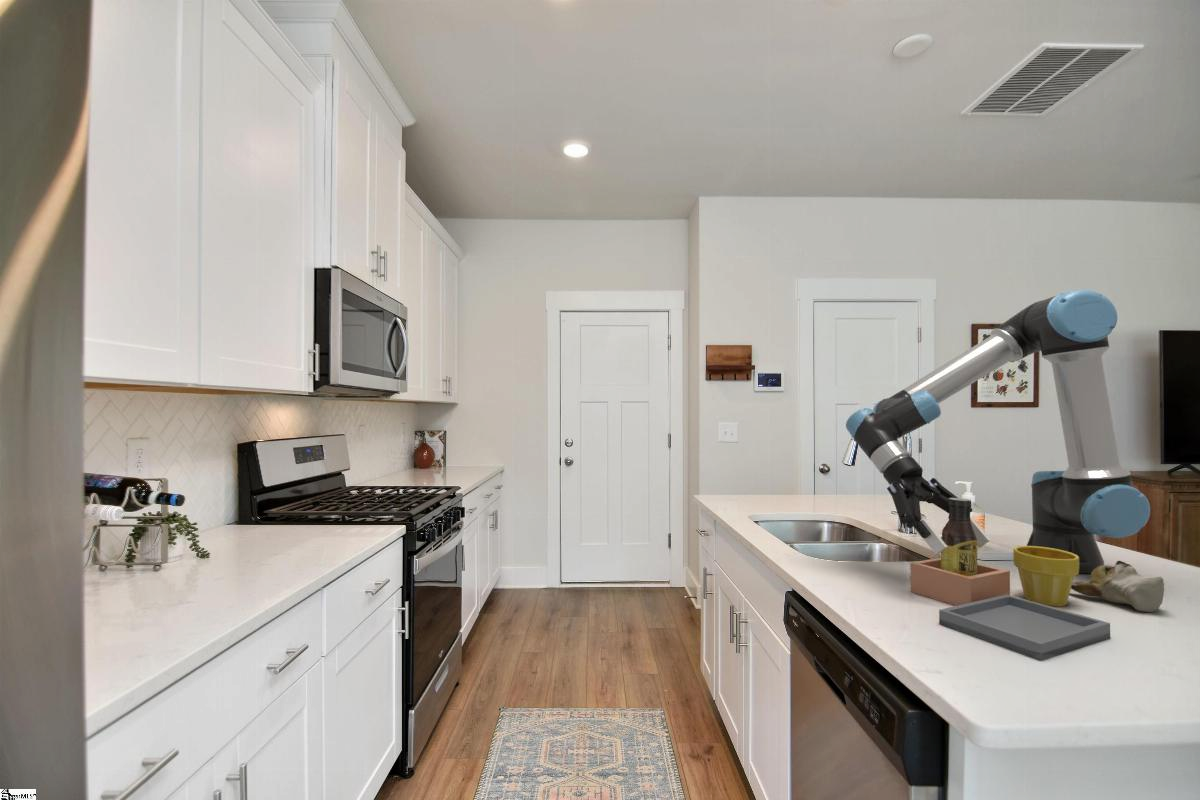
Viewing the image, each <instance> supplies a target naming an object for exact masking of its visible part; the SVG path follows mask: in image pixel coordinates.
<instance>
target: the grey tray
mask: <svg viewBox="0 0 1200 800" xmlns="http://www.w3.org/2000/svg"><path fill="white" fill-rule="evenodd" d="M938 610H939V611H938V613H939V614H938V620H939V623H938V624H939V625H940V626H944V627H947V628H950V629H952V630H955V631H958V632H960V633H963V634H966V635H969V636H972V637H974V638H978V639H979V640H980V639H981V640H983V641H985V642H988V643H992V644H994V645H996V646H999V647H1001V648H1005V649H1008V650H1010V651H1013V652H1016V653H1018V654H1022V655H1024V656H1027V657H1030V658H1033V659H1036V660H1039V661H1045V660H1047V659H1050V658H1053V657H1056V656H1060V655H1063V654H1066V653H1069V652H1072V651H1076V650H1078V649H1081V648H1084V647H1088V646H1091V645H1093V644H1097V643H1100V642H1103V641H1106V640H1109V639H1111V622H1108V621H1104V620H1099V619H1096V618H1093V617H1090V616H1086V615H1083V614H1078V613H1075V612H1072V611H1068V610H1064V609H1062V608H1057V607H1055V606H1048V605H1043V604H1040V603H1036V602H1032V601H1029V600H1027V599H1026V598H1021V597H1017V596H1014V595H1012V594H1010V595H1002V596H998V597H993V598H989V599H985V600H980V601H976V602H971V603H967V604H963V605H958V606H955V605H953V606H951V607H947V608H943V609H942V608H941V609H938Z"/></svg>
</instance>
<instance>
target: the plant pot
mask: <svg viewBox="0 0 1200 800" xmlns="http://www.w3.org/2000/svg"><path fill="white" fill-rule="evenodd" d="M1012 559H1013V565H1014V566H1015V567H1017V571H1018V574H1019V578H1020V579H1019V580H1020V584H1021V587H1022V592H1023V596H1024V599H1025V600H1029V601H1032V602H1036V603H1040V604H1043V605H1047V606H1050V607H1065V606H1066V605H1068V601H1069V598H1070V597H1069V596H1070V592H1071V590H1072V589H1071V586H1072V583H1074V579H1075V576H1078V575H1079V574H1080V573H1079V556H1077V555H1076V554H1073V553H1070V552H1067V551H1063V550H1059V549H1053V548H1047V547H1038V546H1027V545H1019V546H1015V547H1014V548H1013V557H1012Z"/></svg>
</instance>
